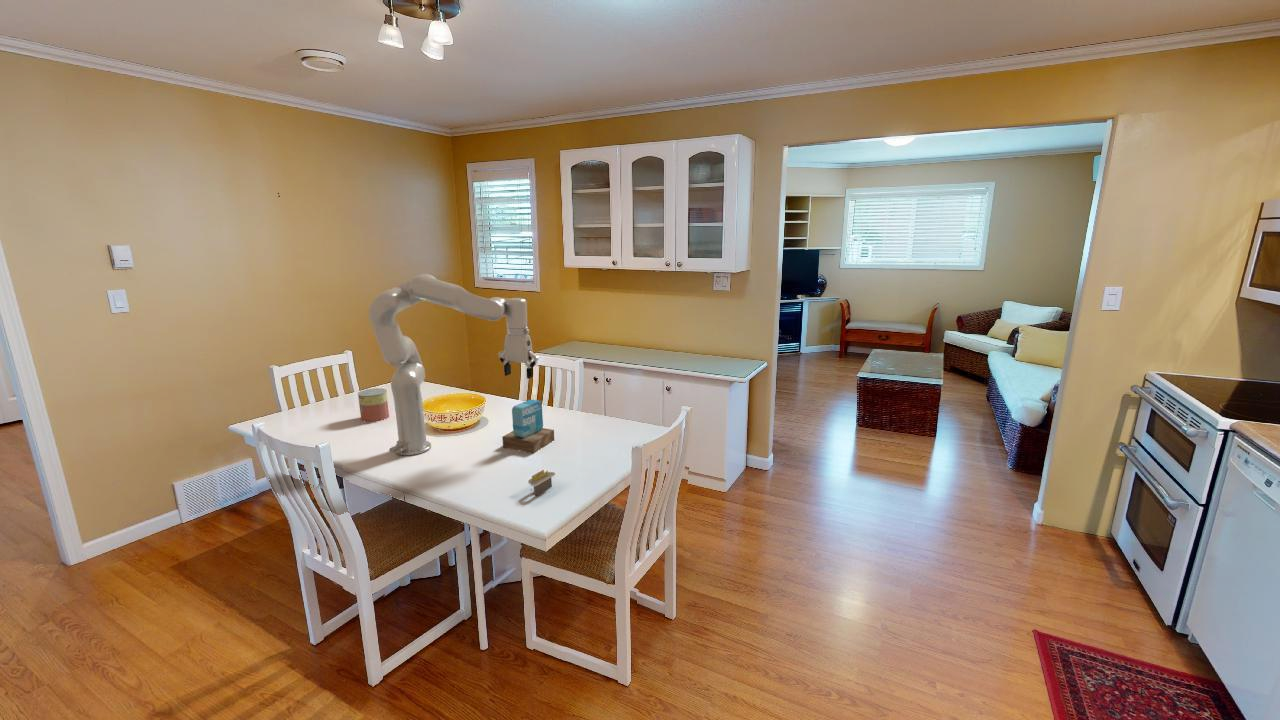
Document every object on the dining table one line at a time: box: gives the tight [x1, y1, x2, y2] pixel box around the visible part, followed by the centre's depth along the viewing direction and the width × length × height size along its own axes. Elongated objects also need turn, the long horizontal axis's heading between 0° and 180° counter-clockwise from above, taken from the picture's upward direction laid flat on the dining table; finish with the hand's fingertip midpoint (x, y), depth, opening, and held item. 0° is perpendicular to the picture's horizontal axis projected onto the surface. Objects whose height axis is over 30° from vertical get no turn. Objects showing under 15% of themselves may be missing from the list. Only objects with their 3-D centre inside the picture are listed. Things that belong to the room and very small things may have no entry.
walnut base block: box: [501, 427, 555, 454], centre depth 212 cm, size 14×14×5 cm
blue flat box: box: [511, 399, 544, 438], centre depth 210 cm, size 12×4×12 cm, turn 149°
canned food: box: [357, 387, 390, 423], centre depth 240 cm, size 11×11×12 cm
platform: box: [528, 469, 556, 497], centre depth 174 cm, size 12×18×7 cm, turn 149°
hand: (518, 376), depth 208 cm, fingers open, 9 cm apart
